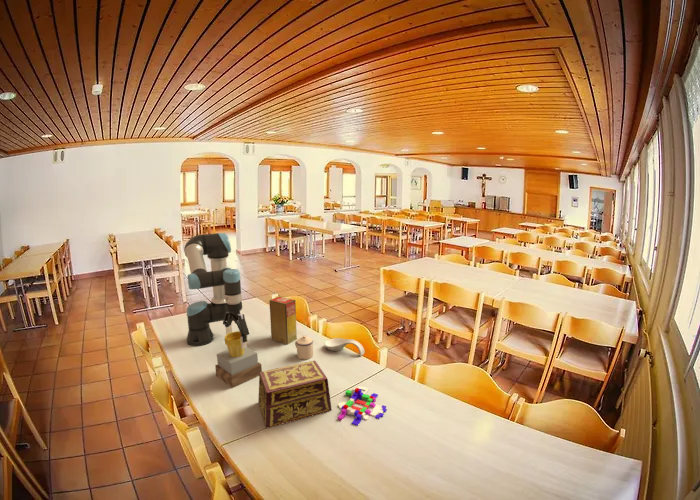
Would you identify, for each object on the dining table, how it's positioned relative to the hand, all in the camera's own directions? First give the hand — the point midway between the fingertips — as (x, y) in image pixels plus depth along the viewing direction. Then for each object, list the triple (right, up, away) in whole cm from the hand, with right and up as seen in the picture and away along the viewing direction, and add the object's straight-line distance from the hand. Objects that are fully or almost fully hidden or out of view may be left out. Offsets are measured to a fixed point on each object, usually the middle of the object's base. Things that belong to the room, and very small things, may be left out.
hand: (236, 343), depth 180 cm
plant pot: (0, -6, +1) cm, 6 cm away
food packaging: (+15, -9, +43) cm, 47 cm away
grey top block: (-1, -11, +3) cm, 12 cm away
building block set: (+60, -22, -21) cm, 68 cm away
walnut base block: (0, -17, +4) cm, 18 cm away
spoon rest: (+52, -12, +29) cm, 60 cm away
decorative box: (+31, -22, -21) cm, 43 cm away
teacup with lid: (+29, -13, +24) cm, 40 cm away
